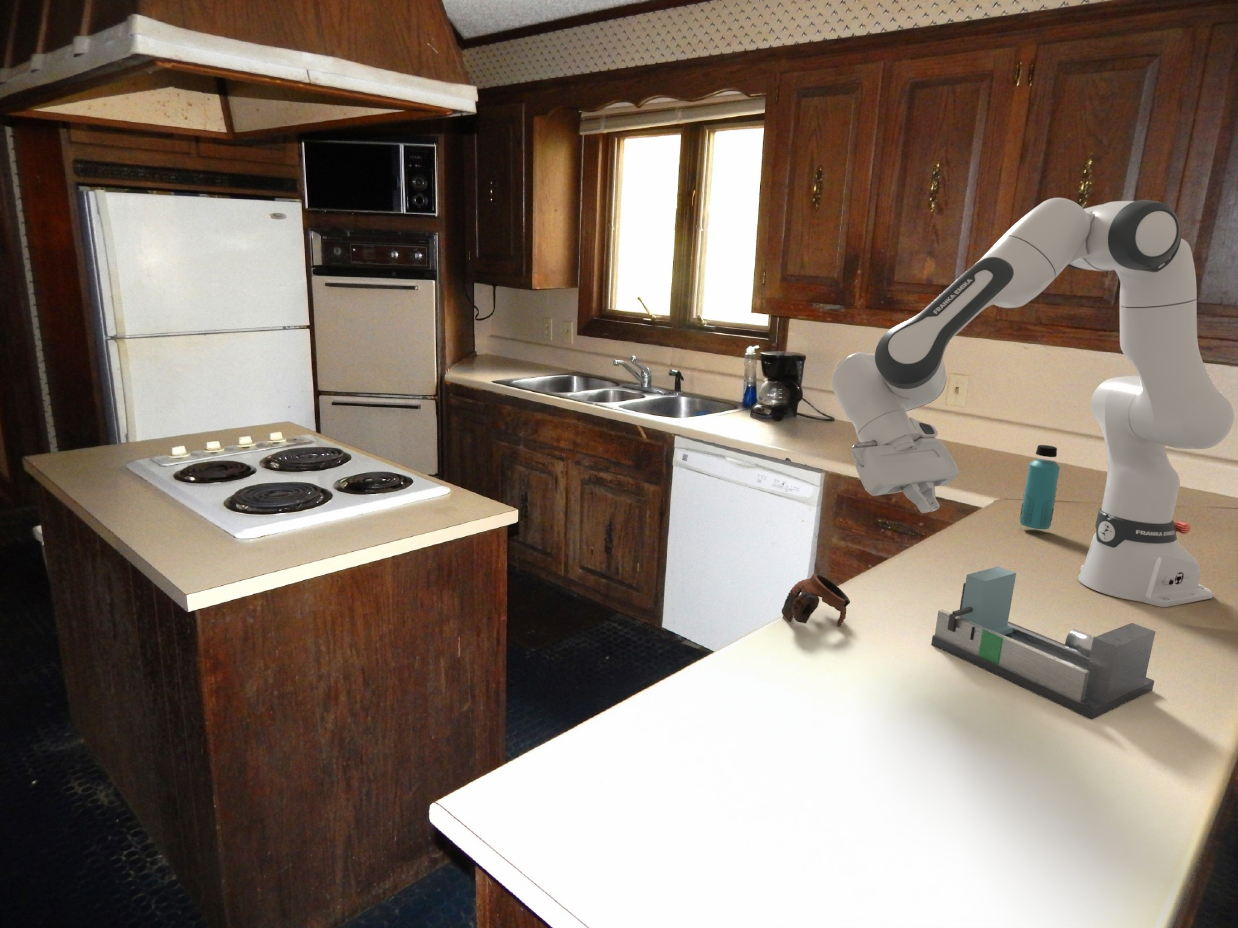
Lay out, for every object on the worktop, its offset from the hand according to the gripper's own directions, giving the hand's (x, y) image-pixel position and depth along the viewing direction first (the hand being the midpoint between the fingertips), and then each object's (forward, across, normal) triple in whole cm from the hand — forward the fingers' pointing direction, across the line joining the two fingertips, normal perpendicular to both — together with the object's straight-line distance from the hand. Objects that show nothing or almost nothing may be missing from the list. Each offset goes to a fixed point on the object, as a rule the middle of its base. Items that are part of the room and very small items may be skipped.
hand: (931, 510), depth 130 cm
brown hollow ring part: (+9, -18, +17) cm, 27 cm away
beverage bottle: (0, +65, +26) cm, 70 cm away
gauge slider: (+20, -2, +3) cm, 20 cm away
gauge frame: (+27, 0, -2) cm, 27 cm away
